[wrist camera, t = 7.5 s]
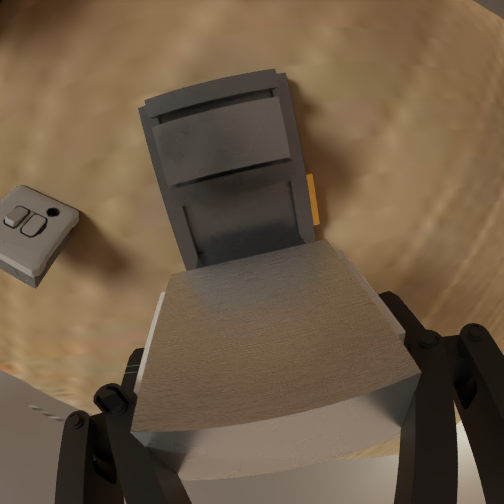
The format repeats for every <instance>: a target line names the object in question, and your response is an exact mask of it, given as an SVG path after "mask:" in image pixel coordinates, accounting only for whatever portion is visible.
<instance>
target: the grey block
mask: <svg viewBox="0 0 504 504" xmlns="http://www.w3.org/2000/svg"><path fill="white" fill-rule="evenodd" d="M420 376H421V370H420V369H419V367H418V366H417V364H416V363H415V361H414V360H413V358H412V356H411V355H410V353H409V352H408V350H407V349H406V347H405V346H404V344H403V343H402V342H401V340H400V339H399V337H398V336H397V334H396V333H395V331H394V330H393V328H392V327H391V326H390V324H389V323H388V321H387V320H386V318H385V317H384V316H383V314H382V313H381V311H380V310H379V309H378V307H377V306H376V304H375V303H374V302H373V300H372V299H371V297H370V296H369V295H368V293H367V292H366V291H365V289H364V288H363V287H362V285H361V284H360V283H359V281H358V280H357V278H356V277H355V276H354V275H353V273H352V272H351V271H350V269H349V268H348V267H347V265H346V264H345V263H344V261H343V260H342V259H341V258H340V256H339V255H338V254H337V252H336V251H335V250H334V249H333V247H332V246H331V245H330V243H329V242H328V241H327V240H326V239H325V240H320V241H316V242H312V243H307V244H303V245H299V246H294V247H290V248H286V249H281V250H277V251H273V252H268V253H264V254H259V255H255V256H251V257H246V258H242V259H238V260H233V261H229V262H224V263H220V264H216V265H211V266H207V267H202V268H198V269H193V270H189V271H185V272H180V273H176V274H171V275H170V279H169V282H168V285H167V288H166V292H165V295H164V298H163V302H162V305H161V309H160V312H159V316H158V319H157V323H156V326H155V330H154V334H153V337H152V341H151V345H150V349H149V352H148V356H147V360H146V364H145V368H144V372H143V377H142V381H141V385H140V389H139V394H138V398H137V403H136V407H135V412H134V417H133V422H132V427H131V432H130V433H131V434H132V435H133V436H134V437H136V438H137V439H138V440H139V441H140V442H141V443H142V444H143V445H144V446H146V447H147V448H149V449H150V450H151V451H152V452H153V453H154V454H155V455H156V456H157V457H158V458H159V459H161V460H162V461H163V462H164V463H165V464H166V465H167V466H169V467H170V468H171V469H172V470H173V471H175V472H176V473H177V474H178V476H179V477H181V478H182V479H183V480H210V479H223V478H235V477H243V476H252V475H259V474H266V473H272V472H278V471H283V470H288V469H293V468H298V467H302V466H307V465H311V464H315V463H319V462H323V461H327V460H331V459H334V458H338V457H341V456H344V455H348V454H351V453H354V452H357V451H360V450H363V449H366V448H369V447H372V446H374V445H377V444H380V443H382V442H385V441H388V440H390V439H393V438H395V437H397V436H398V435H399V433H400V430H401V426H402V424H403V421H404V419H405V416H406V413H407V411H408V408H409V405H410V402H411V400H412V397H413V394H414V391H415V390H416V388H417V385H418V382H419V379H420Z"/></svg>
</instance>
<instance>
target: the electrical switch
mask: <svg viewBox="0 0 504 504" xmlns="http://www.w3.org/2000/svg"><path fill="white" fill-rule="evenodd" d="M78 222H79V212H78V211H77V210H76V209H73V208H71V207H69V206H67V205H64V204H62V203H60V202H58V201H56V200H53V199H51V198H49V197H47V196H45V195H43V194H40V193H38V192H36V191H34V190H32V189H30V188H28V187H25V186H23V185H20V186H16V187H15V188H14V189H13V190H12V191H11V192H10V193H9V194H8V195H6V196H5V197H4V198H3V199H2V200H1V201H0V269H2V270H4V271H5V272H7V273H9V274H10V275H12V276H14V277H16V278H17V279H19V280H21V281H23V282H24V283H26V284H28V285H30V286H32V287H33V288H35V289H36V287H38V285H39V284H40V282H41V281H42V279H43V277H44V276H45V274H46V273H47V271H48V270H49V268H50V267H51V265H52V264H53V262H54V261H55V259H56V258H57V256H58V255H59V254H60V252H61V251H62V249H63V248H64V247H65V245H66V244H67V242H68V241H69V240H70V232H71V228H72V227H73V228H74V227H75V225H76V224H77V223H78ZM12 266H13V267H12ZM26 280H27V281H26Z"/></svg>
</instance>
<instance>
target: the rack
mask: <svg viewBox="0 0 504 504" xmlns="http://www.w3.org/2000/svg"><path fill="white" fill-rule="evenodd" d="M145 104H146V106H143V107H140V108H138V110H139V114H140V118H141V122H142V126H143V130H144V134H145V137H146V141H147V145H148V149H149V152H150V156H151V160H152V163H153V167H154V170H155V174H156V177H157V181H158V184H159V187H160V191H161V194H162V197H163V201H164V204H165V207H166V210H167V213H168V217H169V220H170V223H171V226H172V229H173V232H174V235H175V238H176V241H177V244H178V247H179V250H180V253H181V256H182V259H183V262H184V264H185V267H186V270H187V271H189V270H193V269H198V268H202V267H207V266H211V265H216V264H220V263H224V262H229V261H233V260H238V259H242V258H246V257H251V256H255V255H259V254H264V253H268V252H273V251H277V250H281V249H286V248H290V247H294V246H299V245H303V244H307V243H312V242H316V240H315V232H314V225H319V224H320V223H319V215H318V208H317V201H316V194H315V187H314V180H313V174H312V173H311V172H309V171H306V172H305V167H304V161H303V155H302V150H301V144H300V139H299V133H298V128H297V123H296V118H295V113H294V108H293V104H292V99H291V94H290V90H289V85H288V81H287V76H286V73H280V74H276V71H275V69H270V70H263V71H257V72H251V73H246V74H241V75H236V76H231V77H226V78H221V79H217V80H213V81H208V82H204V83H200V84H197V85H193V86H189V87H185V88H182V89H178V90H175V91H172V92H168V93H165V94H162V95H159V96H156V97H153V98H150V99H147V100H145Z"/></svg>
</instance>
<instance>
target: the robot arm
mask: <svg viewBox="0 0 504 504" xmlns="http://www.w3.org/2000/svg"><path fill="white" fill-rule="evenodd" d="M0 2H1V0H0ZM337 254H338V255H339V256H340V258H341V259H342V260H343V261H344V263H345V264H346V265H347V267H348V268H349V269H350V271H351V272H352V273H353V275H354V276H355V277H356V278H357V280H358V281H359V283H360V284H361V285H362V287H363V288H364V289H365V291H366V292H367V293H368V295H369V296H370V297H371V299H372V300H373V302H374V303H375V304H376V306H377V307H378V309H379V310H380V311H381V313H382V314H383V316H384V317H385V318H386V320H387V321H388V323H389V324H390V326H391V327H392V328H393V330H394V331H395V333H396V334H397V336H398V337H399V339H400V340H401V342H402V343H403V344H404V346H405V347H406V349H407V350H408V352H409V353H410V355H411V356H412V358H413V360H414V361H415V363H416V364H417V366H418V367H419V369H420V370H421V376H420V379H419V382H418V385H417V388H416V390H415V391H414V394H413V397H412V400H411V402H410V405H409V408H408V411H407V413H406V416H405V419H404V421H403V424H402V426H401V437H400V453H399V465H398V475H397V484H396V492H395V499H394V504H457V488H458V451H457V432H456V419H455V409H454V402H455V405H456V407H457V410H458V412H459V415H460V418H461V420H462V423H463V426H464V428H465V431H466V434H467V437H468V440H469V443H470V446H471V449H472V453H473V456H474V459H475V462H476V465H477V469H478V473H479V477H480V480H481V484H482V488H483V492H484V496H485V501H486V504H504V355H503V354H502V352H501V351H500V349H499V347H498V346H497V344H496V343H495V341H494V340H493V338H492V337H491V335H490V334H489V332H488V331H487V330H486V329H485V328H484V327H483V326H481V325H479V324H475V323H471V324H467V325H465V326H464V327H463V328H462V329H461V331H460V335H454V336H446V337H441V335H439V334H438V333H437V332H435V331H432V330H426V329H425V328H424V327H423V325H422V324H421V323H420V322H419V321H418V319H417V318H416V317H415V316H414V314H413V313H412V312H411V311H410V310H409V309H408V307H407V306H406V305H405V304H404V302H403V301H402V300H401V299H400V298H399V297H398V296H397V295H395V294H393V293H392V292H390V291H388V292H384V293H381V294H377V293H376V292H375V291H374V289H373V288H372V287H371V286H370V284H369V283H368V282H367V280H366V279H365V278H364V277H363V275H362V274H361V273H360V272H359V271H358V269H357V268H356V267H355V266H354V264H353V263H352V262H351V261H350V260H349V258H348V257H347V256H346V255H345V253H344V252H343V251H339V252H337ZM164 295H165V292H161V295H160V298H159V301H158V304H157V308H156V311H155V314H154V318H153V321H152V324H151V328H150V331H149V335H148V338H147V342H146V345H145V348H139V349H135V351H134V352H133V353H132V355H131V356H130V357H129V361H128V364H127V367H126V370H125V374H124V377H123V381H122V384H121V386H120V385H118V384H115V383H110V384H106V385H104V386H102V387H101V388H100V389H99V390H98V391H97V392H96V394H95V396H94V400H93V402H94V403H95V404H96V405H97V406H98V408H99V409H100V410H101V411H102V412H103V413H100V414H96V415H93V416H89V415H88V414H87V413H86V412H85V411H82V410H79V411H75V412H73V413H71V414H70V415H69V416H68V418H67V419H66V421H65V424H64V430H63V435H62V441H61V448H60V455H59V463H58V471H57V481H56V493H55V504H124V497H125V500H126V503H127V504H192V503H191V501H190V499H189V497H188V495H187V493H186V491H185V489H184V486H183V484H182V483H181V480H180V478H179V476H178V474H177V473H176V472H175V471H173V470H172V469H171V468H170V467H169V466H167V465H166V464H165V463H164V462H163V461H162V460H161V459H159V458H158V457H157V456H156V455H155V454H154V453H153V452H152V451H151V450H150V449H149V448H147V447H146V446H144V445H143V444H142V443H141V442H140V441H139V440H138V439H137V438H136V437H134V436H133V435H132V434H131V433H130V432H131V427H132V422H133V417H134V412H135V407H136V403H137V398H138V394H139V389H140V385H141V381H142V377H143V372H144V368H145V364H146V360H147V356H148V352H149V349H150V345H151V341H152V337H153V334H154V330H155V326H156V323H157V319H158V316H159V312H160V309H161V305H162V302H163V298H164ZM453 400H454V401H453Z"/></svg>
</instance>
